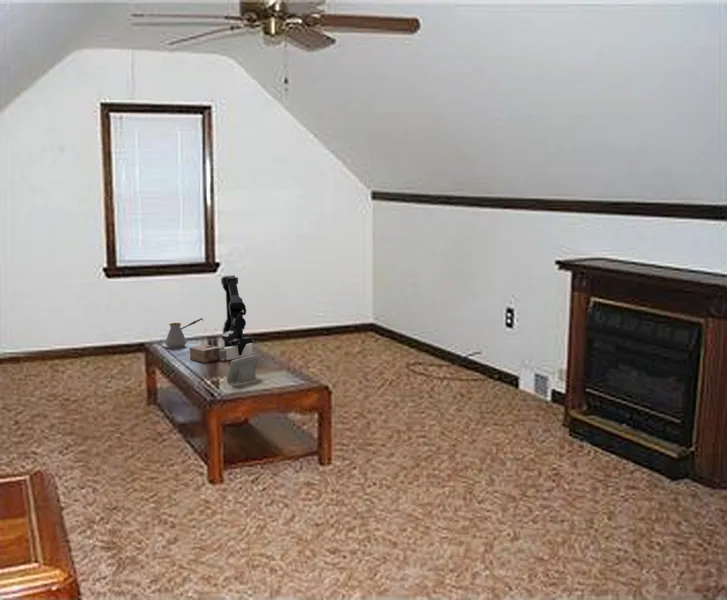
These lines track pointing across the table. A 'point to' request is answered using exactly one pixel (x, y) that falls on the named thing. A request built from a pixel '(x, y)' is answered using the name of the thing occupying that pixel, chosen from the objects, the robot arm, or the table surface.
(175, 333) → the coffee pot
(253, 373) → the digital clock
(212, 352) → the tan notched block
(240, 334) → the robot arm
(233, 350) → the white curved bar
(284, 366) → the table surface
